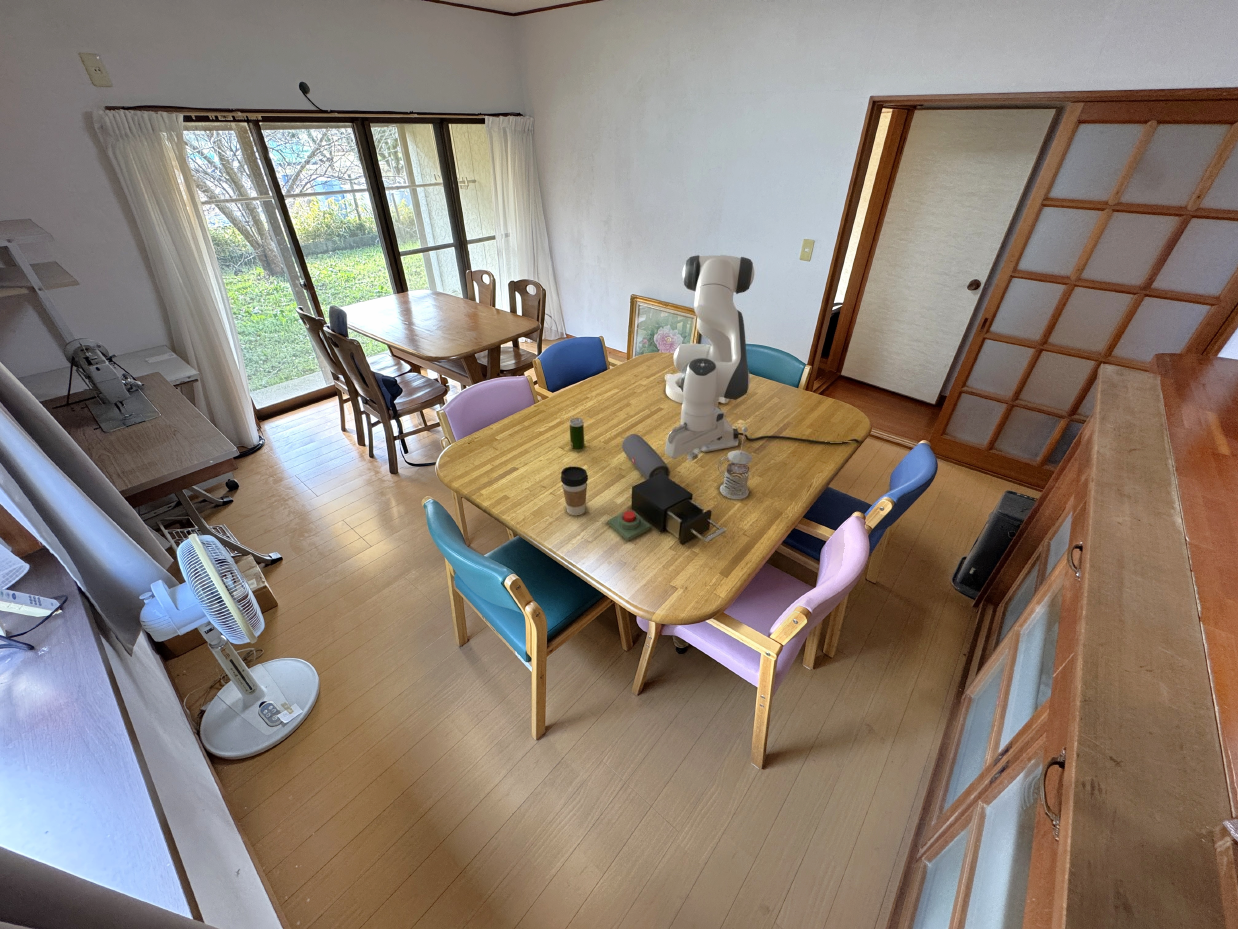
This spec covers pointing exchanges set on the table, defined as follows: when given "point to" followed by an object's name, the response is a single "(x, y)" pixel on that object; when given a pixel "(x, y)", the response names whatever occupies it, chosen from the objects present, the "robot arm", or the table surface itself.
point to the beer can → (577, 434)
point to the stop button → (629, 516)
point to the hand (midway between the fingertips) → (692, 459)
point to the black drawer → (690, 522)
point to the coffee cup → (574, 489)
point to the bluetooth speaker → (644, 457)
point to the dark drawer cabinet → (657, 498)
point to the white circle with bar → (675, 391)
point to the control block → (629, 526)
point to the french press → (735, 485)
